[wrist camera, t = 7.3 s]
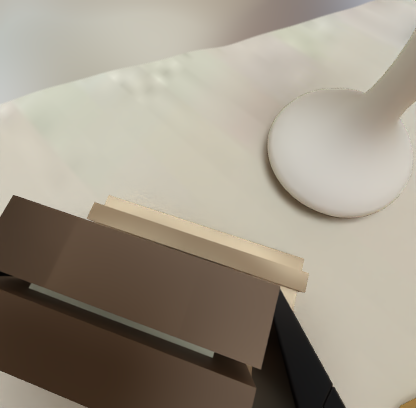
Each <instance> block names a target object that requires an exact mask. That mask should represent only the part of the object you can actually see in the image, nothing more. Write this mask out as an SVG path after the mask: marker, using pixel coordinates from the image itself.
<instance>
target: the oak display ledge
mask: <svg viewBox="0 0 416 408" xmlns="http://www.w3.org/2000/svg"><path fill="white" fill-rule="evenodd" d="M87 219H89V220H91V221H93V222H95V223H97V224H100V225H103V226H106V227H109V228H112V229H115V230H118V231H121V232H124V233H127V234H130V235H132V236H135V237H138V238H141V239H144V240H147V241H150V242H153V243H156V244H159V245H162V246H165V247H168V248H171V249H174V250H176V251H179V252H182V253H185V254H188V255H191V256H194V257H197V258H200V259H203V260H206V261H209V262H212V263H215V264H218V265H221V266H223V267H226V268H229V269H232V270H235V271H238V272H241V273H244V274H247V275H250V276H253V277H256V278H259V279H262V280H265V281H267V282H270V283H273V284H276V285H279V286H280V289H281V291H282V292H283V294H284V296H285V298H286V300H287V302H288V303H289V305H290V307H291V309H292V311H293V309H294V304H295V300H296V295H297V291H298V292H305V290H306V285H307V280H308V276H309V273H306V272H303V271H302V267H303V262H304V259H303V258H300V257H296V256H293V255H290V254H287V253H284V252H281V251H278V250H275V249H272V248H269V247H266V246H263V245H260V244H257V243H254V242H251V241H248V240H245V239H241V238H238V237H235V236H232V235H229V234H226V233H223V232H220V231H217V230H214V229H211V228H208V227H205V226H202V225H199V224H196V223H193V222H189V221H186V220H183V219H180V218H177V217H174V216H171V215H168V214H165V213H162V212H159V211H156V210H153V209H150V208H147V207H144V206H141V205H138V204H134V203H131V202H128V201H125V200H122V199H119V198H116V197H113V196H110V195H109V196H108V198H107V200H106V203H105V205H101V204H98V203H95V202H94V205H93V207H92V209H91V211H90V213H89V215H88V217H87ZM246 365H247V364H246ZM247 367H248V370H249V372H250V374H251V377H252V366H250V365H247Z"/></svg>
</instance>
